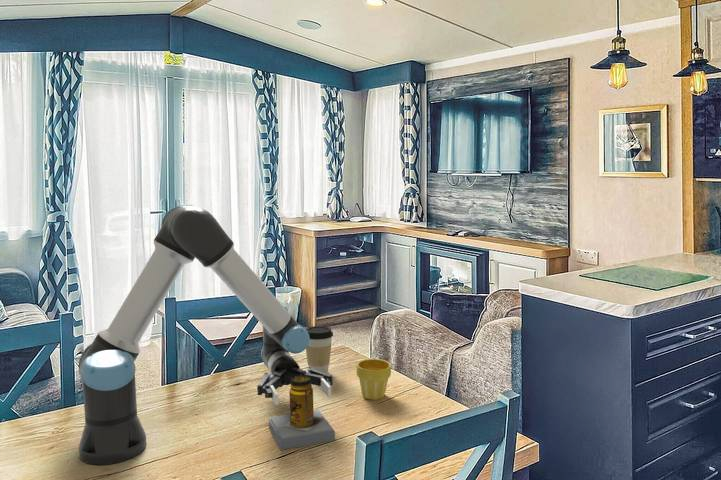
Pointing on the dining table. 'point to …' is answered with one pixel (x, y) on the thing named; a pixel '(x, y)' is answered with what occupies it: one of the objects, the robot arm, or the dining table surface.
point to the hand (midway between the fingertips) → (303, 395)
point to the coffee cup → (319, 347)
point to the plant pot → (373, 377)
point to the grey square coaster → (300, 432)
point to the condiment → (302, 404)
